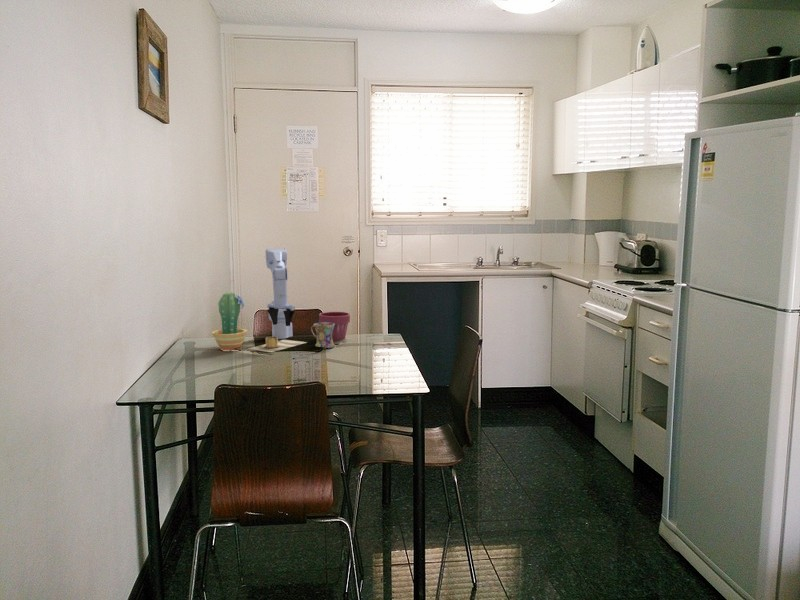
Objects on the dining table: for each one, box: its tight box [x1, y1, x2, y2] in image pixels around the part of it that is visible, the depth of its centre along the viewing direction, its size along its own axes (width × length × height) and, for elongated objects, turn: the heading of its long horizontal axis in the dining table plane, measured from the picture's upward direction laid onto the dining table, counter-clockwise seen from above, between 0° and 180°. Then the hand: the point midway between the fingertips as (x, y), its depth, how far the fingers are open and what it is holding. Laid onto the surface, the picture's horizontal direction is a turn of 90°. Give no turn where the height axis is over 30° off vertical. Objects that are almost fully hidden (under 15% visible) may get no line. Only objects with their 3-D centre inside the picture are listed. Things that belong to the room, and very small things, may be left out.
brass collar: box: [265, 336, 279, 348], centre depth 296 cm, size 5×5×4 cm
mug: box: [310, 322, 335, 350], centre depth 301 cm, size 12×9×11 cm
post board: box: [246, 338, 308, 355], centre depth 300 cm, size 24×14×5 cm, turn 148°
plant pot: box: [318, 311, 351, 341], centre depth 315 cm, size 14×14×13 cm
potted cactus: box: [211, 292, 248, 351], centre depth 297 cm, size 15×15×25 cm
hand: (281, 325), depth 304 cm, fingers open, 7 cm apart
